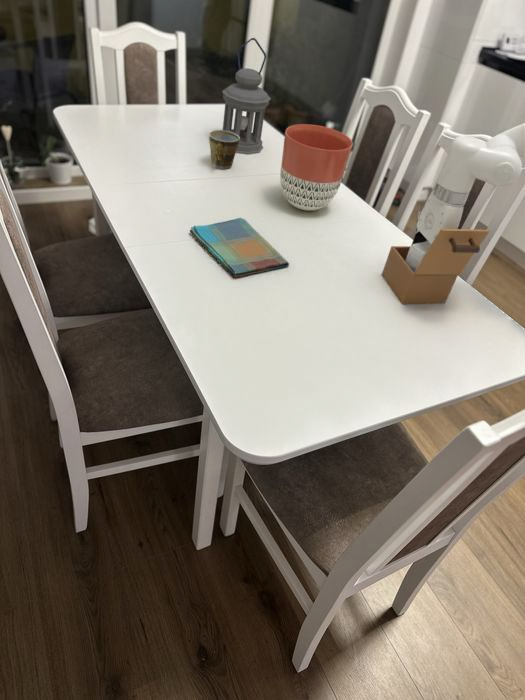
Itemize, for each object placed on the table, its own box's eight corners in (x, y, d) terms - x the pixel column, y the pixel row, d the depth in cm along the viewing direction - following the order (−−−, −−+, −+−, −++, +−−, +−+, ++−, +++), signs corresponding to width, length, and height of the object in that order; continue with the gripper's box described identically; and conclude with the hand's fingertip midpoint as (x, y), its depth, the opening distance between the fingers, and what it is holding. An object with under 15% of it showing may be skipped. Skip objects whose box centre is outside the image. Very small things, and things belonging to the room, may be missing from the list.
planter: (310, 188, 178) (325, 122, 164) (347, 216, 166) (366, 147, 152) (261, 195, 168) (272, 125, 154) (297, 225, 157) (312, 153, 143)
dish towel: (243, 224, 153) (244, 215, 151) (290, 267, 139) (291, 258, 137) (188, 233, 144) (189, 224, 142) (232, 280, 130) (233, 271, 129)
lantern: (264, 141, 204) (280, 37, 182) (260, 157, 191) (277, 48, 169) (221, 133, 204) (231, 28, 181) (214, 149, 191) (224, 38, 168)
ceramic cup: (211, 157, 185) (214, 127, 179) (239, 163, 185) (243, 134, 178) (200, 171, 175) (202, 140, 169) (230, 177, 175) (233, 147, 168)
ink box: (408, 295, 136) (424, 255, 128) (394, 284, 139) (409, 244, 131) (431, 288, 140) (448, 249, 133) (418, 278, 143) (434, 239, 136)
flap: (441, 228, 117) (448, 243, 115) (488, 229, 120) (497, 243, 118) (413, 273, 128) (420, 287, 126) (458, 272, 131) (465, 286, 129)
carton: (381, 274, 143) (391, 246, 138) (422, 274, 146) (433, 246, 141) (402, 304, 134) (413, 275, 128) (445, 303, 137) (458, 275, 131)
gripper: (419, 176, 128) (397, 240, 139) (454, 211, 116) (427, 277, 127) (447, 177, 130) (423, 240, 141) (484, 212, 118) (455, 277, 129)
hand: (425, 258), depth 134 cm, fingers open, 9 cm apart
